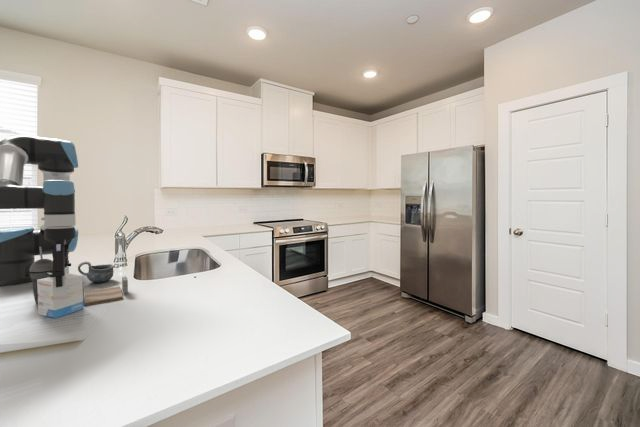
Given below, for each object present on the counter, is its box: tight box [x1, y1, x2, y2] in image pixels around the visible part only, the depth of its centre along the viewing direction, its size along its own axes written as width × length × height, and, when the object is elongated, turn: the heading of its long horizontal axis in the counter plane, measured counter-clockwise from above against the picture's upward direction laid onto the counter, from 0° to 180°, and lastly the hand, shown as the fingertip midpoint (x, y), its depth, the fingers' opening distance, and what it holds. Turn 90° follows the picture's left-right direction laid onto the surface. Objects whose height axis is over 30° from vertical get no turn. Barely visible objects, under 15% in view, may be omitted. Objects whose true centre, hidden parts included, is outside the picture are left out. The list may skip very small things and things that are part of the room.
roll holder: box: [82, 275, 129, 307], centre depth 106 cm, size 15×15×6 cm
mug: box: [77, 261, 115, 284], centre depth 122 cm, size 10×12×10 cm
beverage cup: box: [29, 247, 53, 305], centre depth 99 cm, size 7×7×20 cm
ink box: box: [37, 272, 85, 319], centre depth 91 cm, size 9×8×13 cm
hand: (61, 291), depth 92 cm, fingers open, 13 cm apart
